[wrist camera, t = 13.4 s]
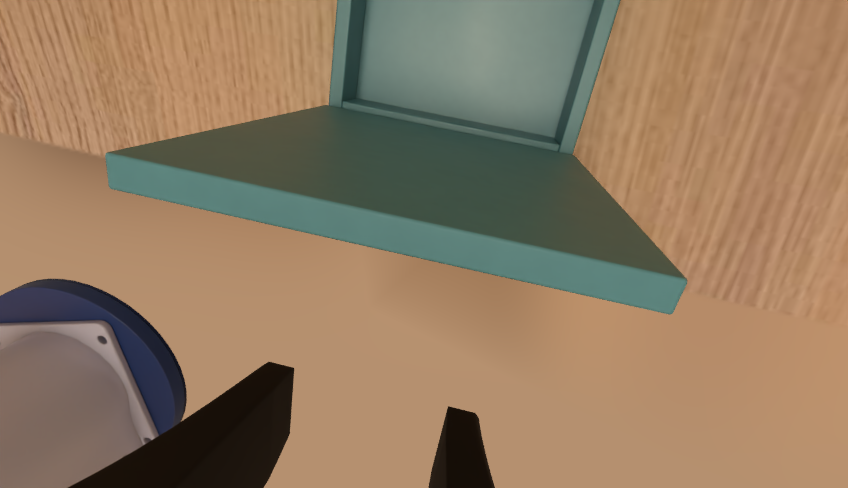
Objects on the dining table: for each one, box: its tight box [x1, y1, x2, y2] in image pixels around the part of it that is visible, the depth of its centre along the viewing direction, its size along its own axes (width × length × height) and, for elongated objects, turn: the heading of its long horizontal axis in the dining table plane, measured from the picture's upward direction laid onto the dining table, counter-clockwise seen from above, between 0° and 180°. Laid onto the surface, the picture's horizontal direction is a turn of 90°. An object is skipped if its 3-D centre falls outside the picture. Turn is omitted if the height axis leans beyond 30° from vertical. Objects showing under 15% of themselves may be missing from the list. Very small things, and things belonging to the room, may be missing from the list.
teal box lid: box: [105, 105, 687, 314], centre depth 11 cm, size 9×9×1 cm
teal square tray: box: [329, 0, 620, 155], centre depth 15 cm, size 9×9×2 cm
